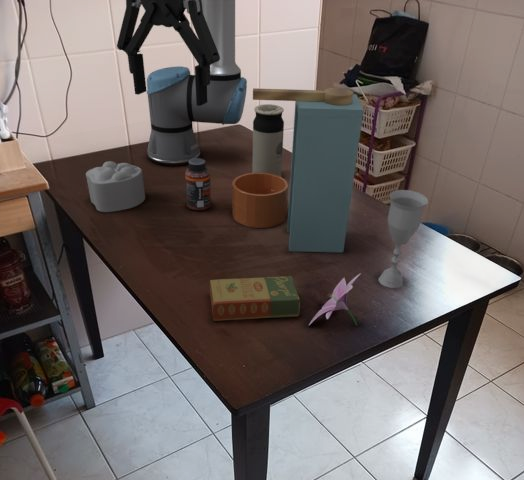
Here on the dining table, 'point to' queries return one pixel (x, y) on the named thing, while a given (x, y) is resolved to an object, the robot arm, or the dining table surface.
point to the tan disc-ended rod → (306, 95)
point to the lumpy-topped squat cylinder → (115, 186)
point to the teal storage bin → (322, 174)
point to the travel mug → (268, 139)
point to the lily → (337, 299)
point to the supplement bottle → (198, 185)
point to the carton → (254, 298)
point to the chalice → (402, 229)
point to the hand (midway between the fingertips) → (170, 98)
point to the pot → (259, 199)
